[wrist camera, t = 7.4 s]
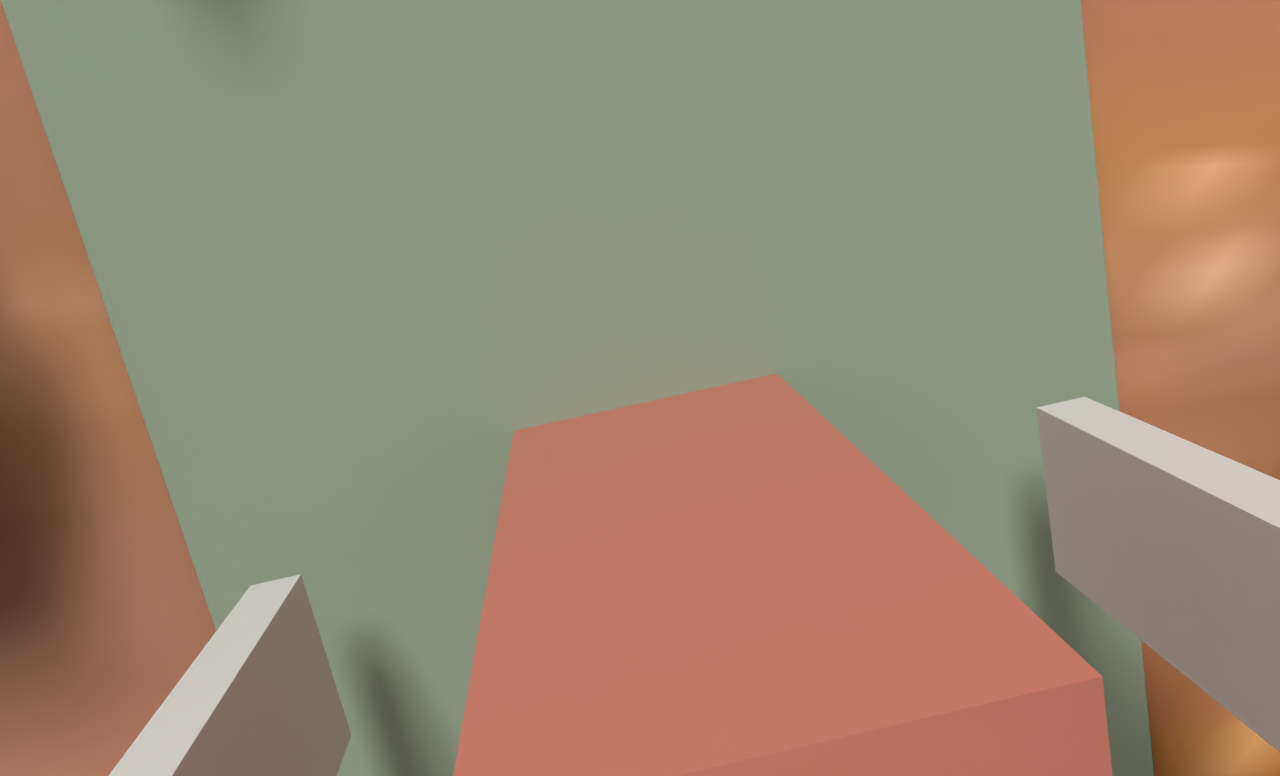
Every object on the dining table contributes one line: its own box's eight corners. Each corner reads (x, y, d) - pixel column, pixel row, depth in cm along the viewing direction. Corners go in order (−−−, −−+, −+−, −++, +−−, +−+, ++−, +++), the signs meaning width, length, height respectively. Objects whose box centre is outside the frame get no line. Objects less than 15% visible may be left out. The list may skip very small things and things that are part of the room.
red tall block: (572, 670, 17) (599, 1742, 5) (514, 430, 16) (391, 1121, 4) (819, 614, 17) (1361, 1540, 6) (777, 373, 16) (1334, 891, 5)
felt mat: (374, 1080, 19) (373, 1090, 19) (-421, -1257, 11) (-439, -1284, 11) (1159, 889, 19) (1165, 896, 19) (930, -1474, 12) (937, -1502, 11)
